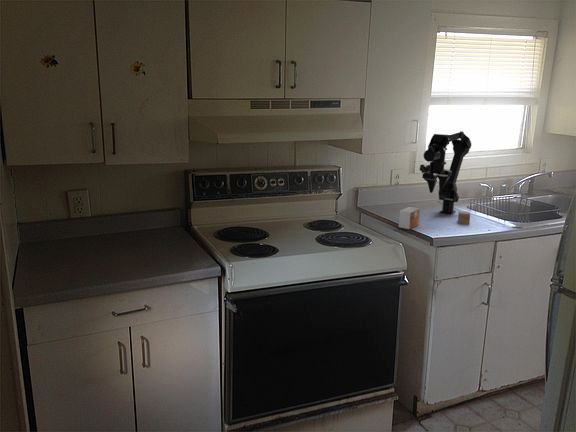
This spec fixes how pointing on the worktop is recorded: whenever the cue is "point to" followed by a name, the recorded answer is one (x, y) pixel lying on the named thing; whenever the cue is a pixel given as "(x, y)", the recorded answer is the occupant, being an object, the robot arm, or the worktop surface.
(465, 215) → the walnut block
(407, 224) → the small box
